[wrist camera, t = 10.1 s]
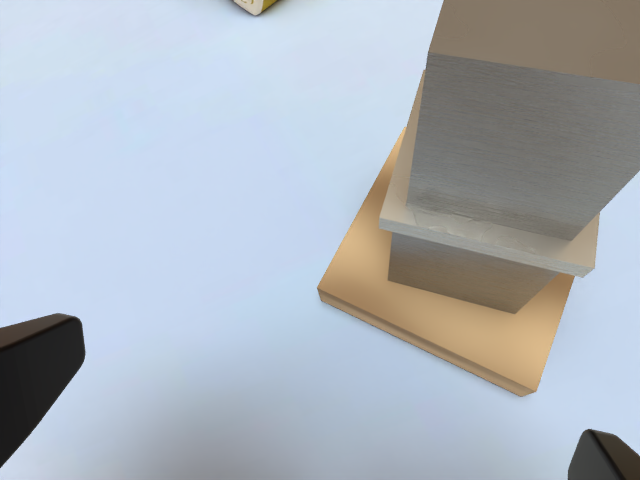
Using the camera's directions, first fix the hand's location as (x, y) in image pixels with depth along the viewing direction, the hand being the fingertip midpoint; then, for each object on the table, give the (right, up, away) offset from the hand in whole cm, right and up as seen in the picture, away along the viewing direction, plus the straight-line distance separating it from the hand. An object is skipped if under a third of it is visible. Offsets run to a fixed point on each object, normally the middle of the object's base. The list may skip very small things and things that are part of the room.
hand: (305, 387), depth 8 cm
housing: (+7, +3, +13) cm, 15 cm away
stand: (+7, +2, +15) cm, 17 cm away
